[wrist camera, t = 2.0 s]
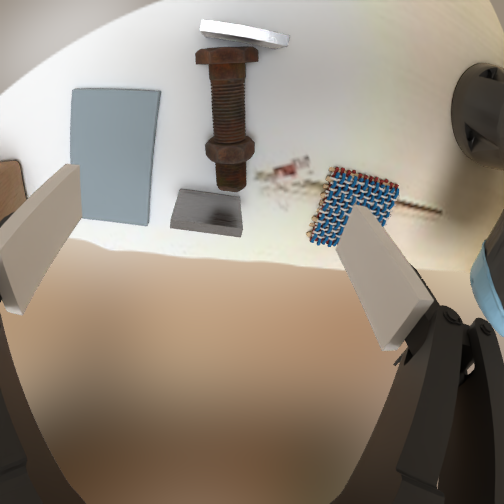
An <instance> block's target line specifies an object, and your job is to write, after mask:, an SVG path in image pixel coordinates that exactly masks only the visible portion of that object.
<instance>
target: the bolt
mask: <svg viewBox="0 0 504 504" xmlns="http://www.w3.org/2000/svg"><path fill="white" fill-rule="evenodd" d="M195 56H196V64H209V78H210V80H211V86H212V88H211V89H212V91H211V92H212V93H213V94H211V96H213V97H212V98H211V99H213V100H212V101H211V102H212V103H213V104H212V106H213V107H212V109H213V110H212V112H213V114H212V115H213V117H212V118H213V119H214V120H213V122H214V123H213V125H214V126H213V128H214V130H213V131H214V133H213V134H214V137H213V138H211V139H210V140H209V141H208V142H207V143H206V144H205V150H206V155H207V157H208V158H209V159H210V160H211V161H213V162H215V165H216V177H217V178H216V182H217V186H218V188H219V189H220V190H223V191H231V192H238V191H240V190H242V189H243V188H244V187H245V186H246V161H247V160H249V159H250V158H251V157H252V155H253V154H254V152H255V145H254V141H253V140H252V139H251V138H250V137H248V136H245V134H246V133H245V131H246V130H245V123H244V122H245V120H244V119H245V110H244V109H245V107H244V106H245V104H244V102H245V101H244V99H245V97H244V96H245V94H243V93H245V91H244V89H245V88H244V86H245V84H243V83H245V77H246V75H245V63H246V62H258V50H257V49H256V48H254V47H219V48H207V49H200V50H199V51H197V52H196V53H195Z"/></svg>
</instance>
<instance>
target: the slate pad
mask: <svg viewBox="0 0 504 504" xmlns="http://www.w3.org/2000/svg"><path fill="white" fill-rule="evenodd" d="M160 94H161V91H150V90H134V89H74V90H72V101H71V126H70V158H71V164H74V165H80V188H81V205H82V218H84V219H92V220H100V221H109V222H117V223H125V224H133V225H141V226H148V223H149V207H150V189H151V175H152V162H153V151H154V141H155V132H156V123H157V115H158V108H159V101H160Z"/></svg>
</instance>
